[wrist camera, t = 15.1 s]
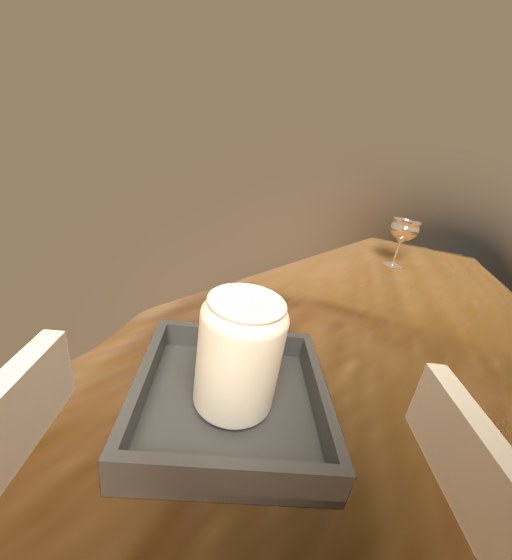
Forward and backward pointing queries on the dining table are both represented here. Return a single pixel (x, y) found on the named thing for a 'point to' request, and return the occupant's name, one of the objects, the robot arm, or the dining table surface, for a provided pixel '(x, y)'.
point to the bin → (226, 435)
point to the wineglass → (402, 235)
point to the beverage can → (239, 354)
